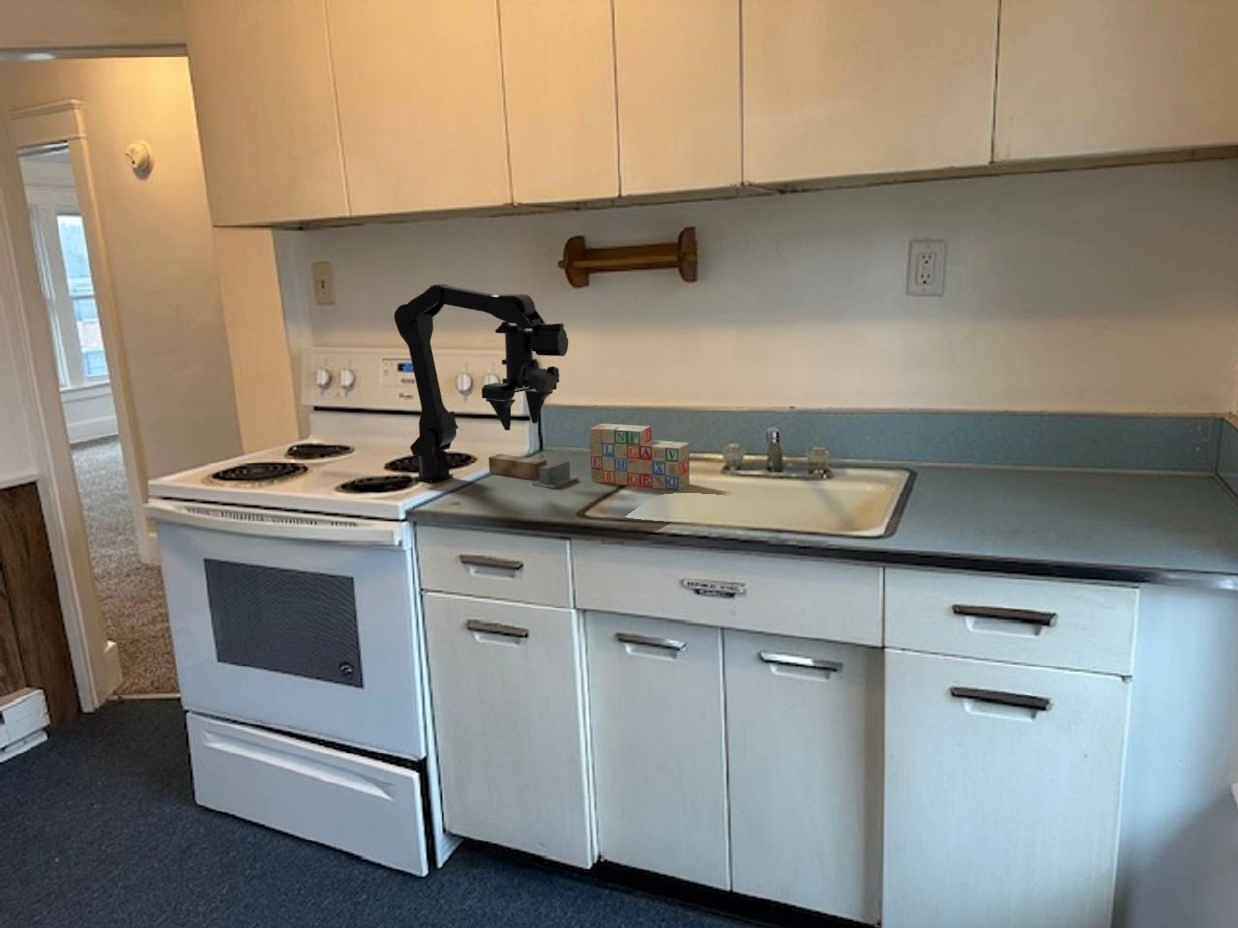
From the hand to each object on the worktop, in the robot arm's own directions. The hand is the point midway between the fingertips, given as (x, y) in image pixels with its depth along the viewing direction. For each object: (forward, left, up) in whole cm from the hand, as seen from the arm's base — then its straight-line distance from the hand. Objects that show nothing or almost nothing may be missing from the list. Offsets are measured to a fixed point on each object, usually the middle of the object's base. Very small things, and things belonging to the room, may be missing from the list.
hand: (521, 426), depth 188 cm
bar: (-7, +7, -13) cm, 16 cm away
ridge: (+5, +5, -13) cm, 15 cm away
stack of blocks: (+22, +13, -13) cm, 29 cm away
